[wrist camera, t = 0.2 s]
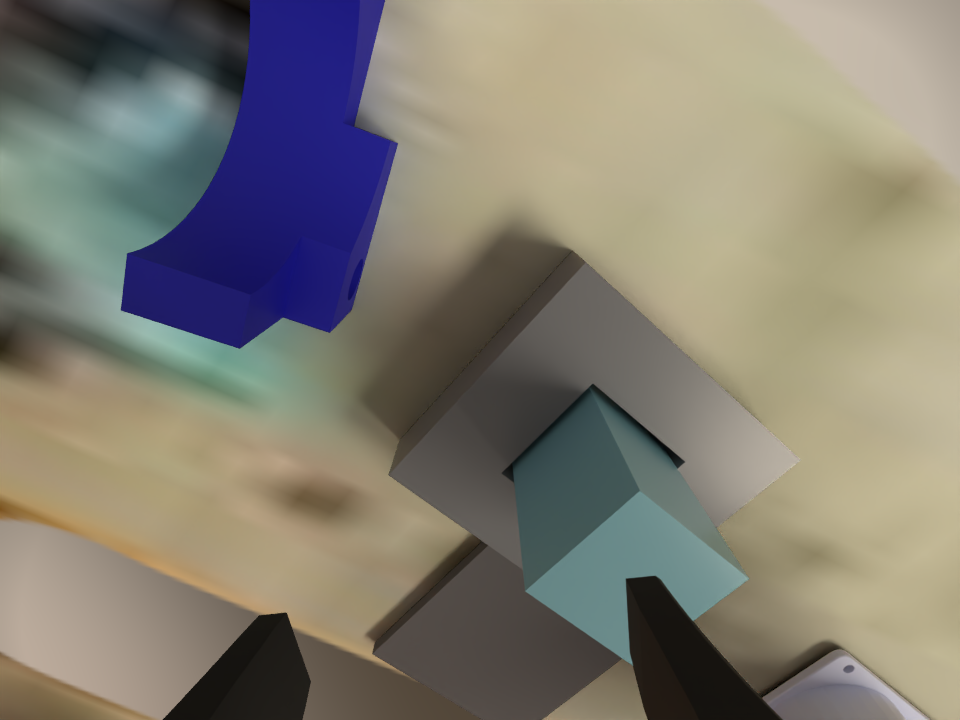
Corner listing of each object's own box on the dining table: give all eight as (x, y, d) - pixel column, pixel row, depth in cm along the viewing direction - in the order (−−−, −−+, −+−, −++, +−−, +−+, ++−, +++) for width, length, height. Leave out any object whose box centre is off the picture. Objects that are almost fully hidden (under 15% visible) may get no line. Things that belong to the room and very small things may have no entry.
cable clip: (352, 308, 19) (296, 367, 13) (232, 267, 18) (120, 310, 13) (456, -67, 15) (440, -209, 9) (306, -132, 14) (192, -325, 9)
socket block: (764, 426, 20) (801, 460, 18) (586, 576, 23) (598, 622, 21) (572, 250, 18) (585, 262, 16) (399, 440, 21) (388, 475, 18)
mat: (642, 629, 24) (646, 640, 23) (514, 728, 26) (515, 740, 26) (498, 525, 22) (499, 535, 21) (374, 642, 24) (372, 653, 24)
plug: (651, 428, 20) (749, 579, 13) (580, 492, 21) (633, 666, 14) (579, 367, 19) (640, 490, 12) (509, 437, 20) (525, 591, 13)
